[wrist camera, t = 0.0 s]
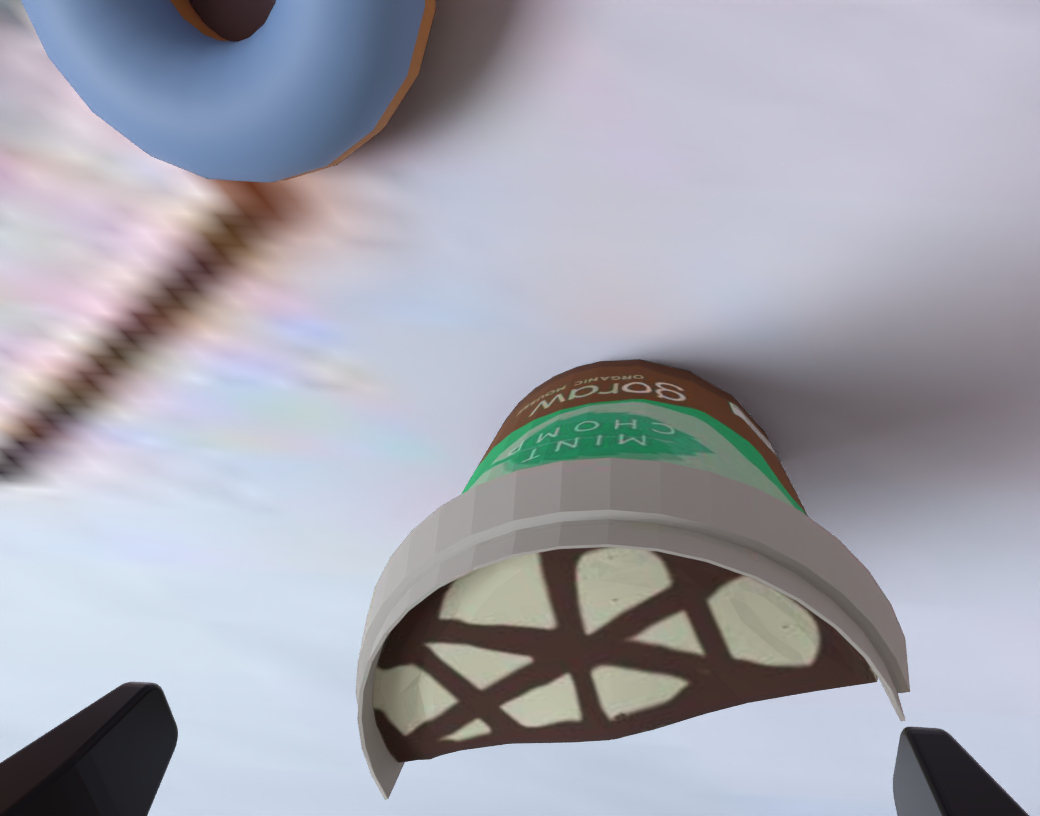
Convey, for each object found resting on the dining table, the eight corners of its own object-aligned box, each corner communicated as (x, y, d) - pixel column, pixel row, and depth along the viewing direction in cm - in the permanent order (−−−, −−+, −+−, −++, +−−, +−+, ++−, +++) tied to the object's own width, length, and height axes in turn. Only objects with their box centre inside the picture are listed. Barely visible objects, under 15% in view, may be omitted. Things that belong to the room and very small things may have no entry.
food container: (773, 259, 21) (859, 433, 12) (829, 449, 23) (937, 716, 14) (382, 393, 24) (227, 600, 16) (462, 545, 27) (365, 803, 18)
